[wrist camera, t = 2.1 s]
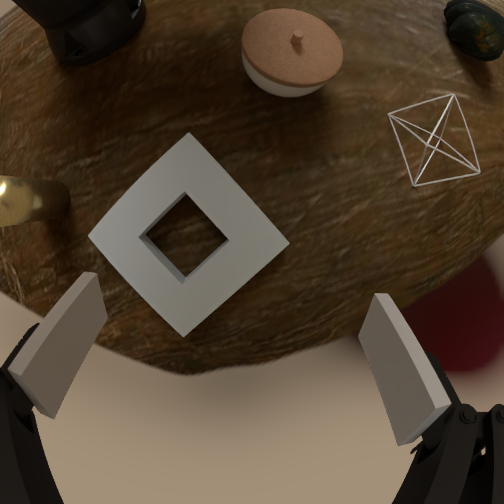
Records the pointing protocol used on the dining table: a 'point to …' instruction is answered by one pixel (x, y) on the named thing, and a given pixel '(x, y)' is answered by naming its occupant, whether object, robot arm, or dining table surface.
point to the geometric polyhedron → (437, 143)
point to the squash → (476, 28)
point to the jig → (219, 212)
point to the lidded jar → (290, 52)
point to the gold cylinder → (31, 200)
